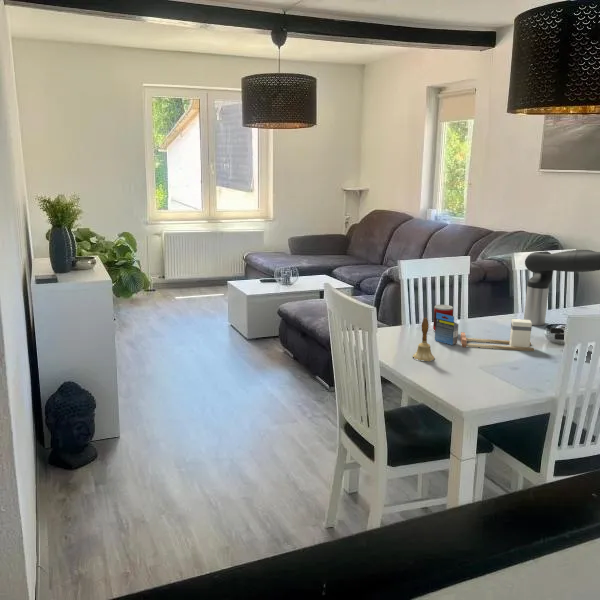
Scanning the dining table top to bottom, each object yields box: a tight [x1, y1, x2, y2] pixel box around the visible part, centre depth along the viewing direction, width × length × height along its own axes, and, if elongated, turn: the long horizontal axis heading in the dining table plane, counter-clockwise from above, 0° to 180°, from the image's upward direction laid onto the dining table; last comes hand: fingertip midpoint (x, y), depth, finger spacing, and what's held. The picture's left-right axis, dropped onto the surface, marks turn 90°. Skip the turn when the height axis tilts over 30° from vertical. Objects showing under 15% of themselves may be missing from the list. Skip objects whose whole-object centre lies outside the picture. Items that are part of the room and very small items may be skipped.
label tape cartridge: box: [434, 312, 459, 346], centre depth 247 cm, size 9×4×12 cm, turn 43°
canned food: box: [432, 304, 454, 331], centre depth 263 cm, size 8×8×11 cm
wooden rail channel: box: [459, 331, 535, 352], centre depth 244 cm, size 11×28×3 cm, turn 79°
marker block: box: [508, 318, 533, 347], centre depth 242 cm, size 5×7×11 cm, turn 79°
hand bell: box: [412, 317, 435, 362], centre depth 228 cm, size 8×8×16 cm
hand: (552, 333), depth 239 cm, fingers open, 8 cm apart
